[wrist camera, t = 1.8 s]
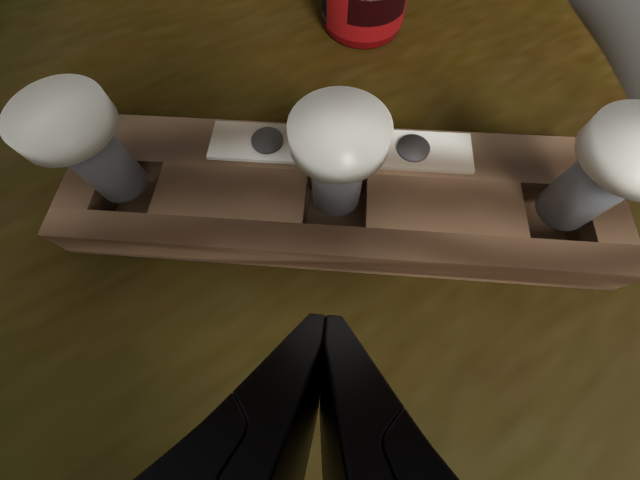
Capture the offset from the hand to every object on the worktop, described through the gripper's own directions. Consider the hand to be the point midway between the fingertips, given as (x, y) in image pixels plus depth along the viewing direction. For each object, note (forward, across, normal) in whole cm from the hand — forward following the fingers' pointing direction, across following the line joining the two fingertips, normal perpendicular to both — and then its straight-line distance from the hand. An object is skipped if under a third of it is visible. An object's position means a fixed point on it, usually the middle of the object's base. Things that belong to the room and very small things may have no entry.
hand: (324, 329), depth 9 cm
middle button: (+14, 0, 0) cm, 14 cm away
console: (+17, 0, +2) cm, 17 cm away
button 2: (+14, +14, 0) cm, 20 cm away
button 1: (+14, -14, 0) cm, 20 cm away
